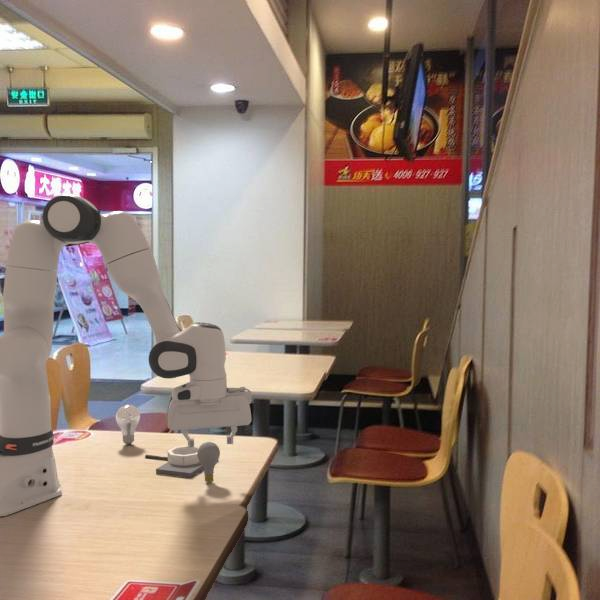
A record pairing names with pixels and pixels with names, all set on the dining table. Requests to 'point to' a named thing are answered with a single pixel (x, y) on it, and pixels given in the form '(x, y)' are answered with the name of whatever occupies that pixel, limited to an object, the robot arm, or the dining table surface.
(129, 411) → the light bulb
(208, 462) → the light bulb
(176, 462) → the lamp base
